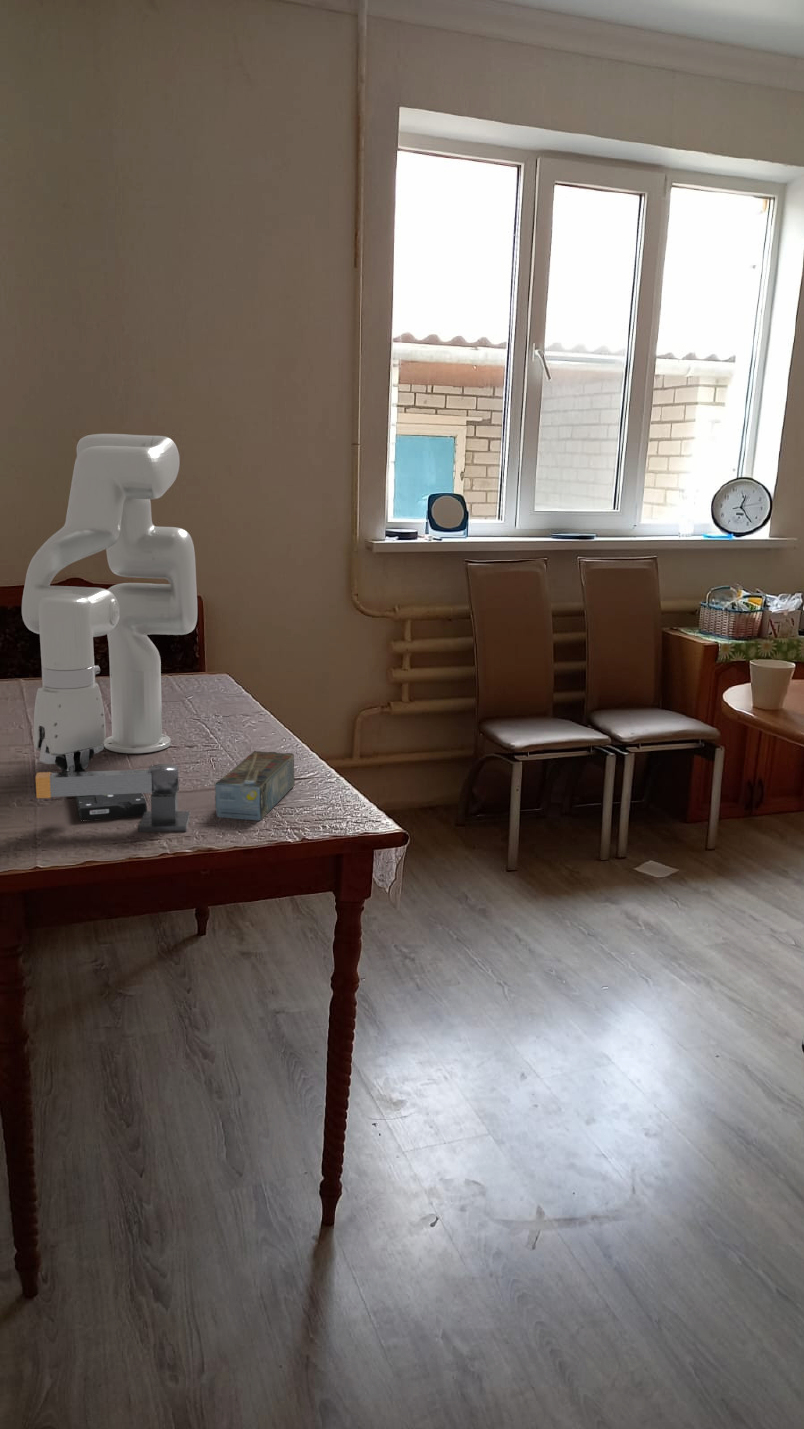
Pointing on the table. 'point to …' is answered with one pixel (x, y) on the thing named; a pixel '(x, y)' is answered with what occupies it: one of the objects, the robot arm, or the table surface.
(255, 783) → the beverage carton
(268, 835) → the table surface
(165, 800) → the grey pedestal base
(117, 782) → the swing bar
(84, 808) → the disk drive
